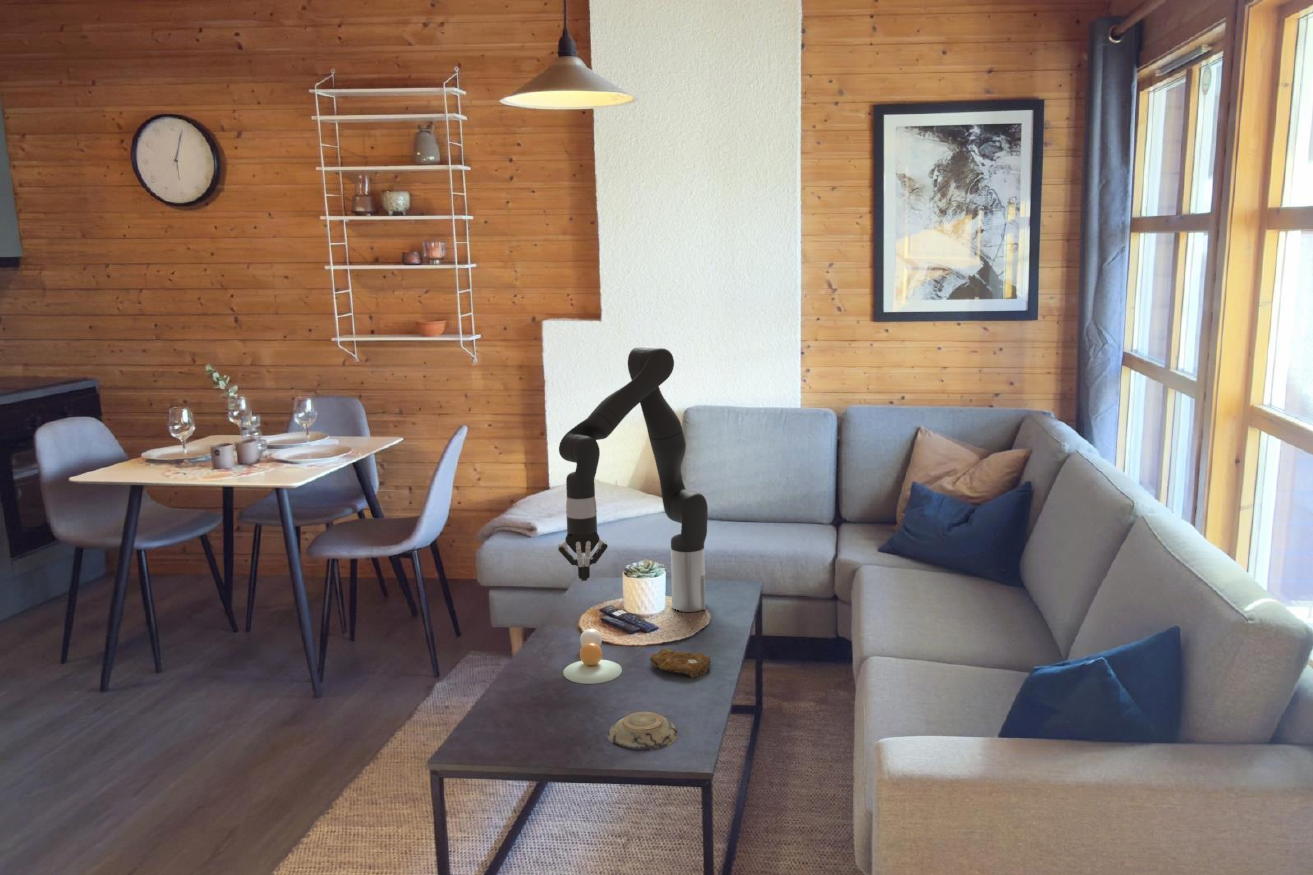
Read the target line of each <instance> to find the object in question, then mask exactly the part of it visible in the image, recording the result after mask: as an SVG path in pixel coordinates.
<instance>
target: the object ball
mask: <svg viewBox="0 0 1313 875" xmlns="http://www.w3.org/2000/svg"><path fill="white" fill-rule="evenodd" d="M602 658H603V650H602V648H601V645H600V646H599V645H597V644H595V643H587V644H585V645H584V646H583V647H582V646H581V648H580V649H579V659H580V661H582V662H583V663H584V664H586V665H589V666H593V665H596V664H598V663H599V662H600V660H602Z"/></svg>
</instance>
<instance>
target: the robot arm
mask: <svg viewBox="0 0 1313 875" xmlns="http://www.w3.org/2000/svg"><path fill="white" fill-rule="evenodd" d="M627 358H628V359H627V369H628V370H627V371H628V373H629V376H630V379H631V380H630V381H629V382H628V383H627V384H625V385H624V386H622V387H621V388H619V389H617V390H616V391H614V392H612V393H611V394H610V395H608V396H607V397H606V398H604V399H603V400H601V402H600V403H599V404H598V405H597V406H596V407H595V408H594V410H592V411H591V413H590V414H589V416H587V418H585V419H584V420H582V421H580V423H578V424H576V425H575V426H574V427H573V428H571V429H570V430H569V431H567V432H566V433H565V434H564V436H563V437H562V438H561V440H560V442H559V446H558V452H559V455H560V456H561V458H562V459H563V460H565V461H567V462H570V463H575V464H576V467H575V470H574V471H572V472H569V474H567V476H566V479H565V480H566V481H565V485H566V504H565V513H566V537H565V541H563V542H562V543H561V544H558V545H557V550H558V552H559V553H561V555H562V556H563V557H564V558H565V559H566V561H568V562H569V564H570V565H571V566H576V567H577V576H578V578H579V580H581V582H585V581H586V582H587V581H588V579H590V577H591V576H590V574H591V572H590V566H591V565H595V564H597V562H598V561H599V559H600V558H601V557H602V556H603V554H604V553H605V551H606V550H607V549H608V543H607V541H604V540H602V539H600V535H599V534H598V521H597V520H598V518H597V517H598V515H597V514H598V513H597V512H598V509H597V500H596V489H595V486H596V484H595V480H596V479H595V478H596V476H597V470H598V465H599V460H600V454H601V451H600V446H599V443H598V442H597V441H600V440H604V439H607V438H609V436H610V435H611V434H612V433H613V432H614V430H616V428H617V427H618V425H619V424H620V423H622V421H623V419H624V418H625V417H627V415H629V413H630V412H631V411H633V409H635V408H636V407H637V405H639V404H640V406H641V407H640V408H641V411H642V415H643V419H644V422H645V426H646V429H647V434H648V435H647V436H648V439H649V442H650V447H651V450H652V454H653V456H654V457H653V458H654V460H655V465H656V470H657V474H658V478H659V485H660V491H661V498H662V505H663V509H664V513H665V515H666V517H667V518H668V519H669V520H671V521H673V522H676V523H679V524H681V530H680V533H678V534H675V535H673V536H672V537H671V539H670V564H671V565H670V566H671V570H670V571H671V606H672V609H673V610H675V609H676V610H675V611H677V610H679V611H678V612H681V611H682V613H695V612H699V611H705V610H706V577H705V576H706V574H705V542H706V538H707V535H708V534H707V532H708V513H709V512H708V511H709V509H708V507H709V506H708V502H707V499H706V497H705V496H704V495H703V494H701V493H699V492H696V491H692V490H688V489H686V487H685V484H684V480H683V477H682V476H683V475H682V463H683V460H684V456H685V454H686V449H687V448H686V446H687V445H686V439H685V435H684V430H683V426H682V424H681V421H680V418H679V417H678V415H677V413H676V412H675V411H674V409H673V408H672V407H671V405H670V404H669V403H668V402H667V400H666V399H665V397H664V396H663V394H662V391H661V388H660V386H661V385H662V384H663V383H665V382H666V381H667V380H668V379H669V377H670V376H671V375H672V373H673V371H674V367H675V359H674V356H673V354H672V353H671V351H670V350H669V349H667V348H665V347H659V346H649V345H648V346H647V345H641V346H640V345H639V346H636V347H633V348H632V349H631V350H630V352H629V354H628V357H627ZM596 546H597V549H596V551H594V549H595V548H596ZM568 547H569V548H570V549H571V550H572V551H573V553H574V554H575V556H576V558H575V557H573V555H572V554H571V553H570V551H568V550H569V548H568ZM593 551H594V553H593V555H592V556H591V553H592V552H593Z"/></svg>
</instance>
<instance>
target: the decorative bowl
mask: <svg viewBox="0 0 1313 875" xmlns="http://www.w3.org/2000/svg"><path fill="white" fill-rule="evenodd" d="M676 732H678V729H677V727H676V725H675V724H674V723H672V721H670V720H669V719H668V718H666V717H664V716H663V715H659V714H658V713H655V712H652V711H638V712H632V713H630V714H627V715H626V716H625V717H623V718H621V719H619V720H617V721H616V722H615V723H614V724H613V725H611V727H610V728H609V731H608V732H607V734H606V735H607V739H608V740H609V742H610V743H611V744H616V745H618V746H620V747H623V748H625V749H629V750H634V751H637V752H638V751H639V752H648V751H650V752H651V751H656V750H659V749H660V750H661V749H664V748H666V747H668V746H670V745H671V744H673V743H675V741H677V739H678V735H677V733H676Z"/></svg>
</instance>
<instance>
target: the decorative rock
mask: <svg viewBox="0 0 1313 875" xmlns="http://www.w3.org/2000/svg"><path fill="white" fill-rule="evenodd" d="M710 657H711V656H710V654H709V655H705V654H703V653H700V652H697V653H696V652H684V651H675V650H672V649H669V648H668V649H666V648H665V649H661V650H660V651H659V652H657V653H654V654H651V655H650V656H649V659H648V661H650V663H651V664H652V665H653V667H655V668H659V669H660V670H661V671H666V672H670V673H671V674H674V673H681V674H685V675H687V676H689V677H691V678H692V679H695V678H697V677H700V676H707V675H708V674H709V673H708V672H709V671H710V665H711V663H712V661H711V659H710Z"/></svg>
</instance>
